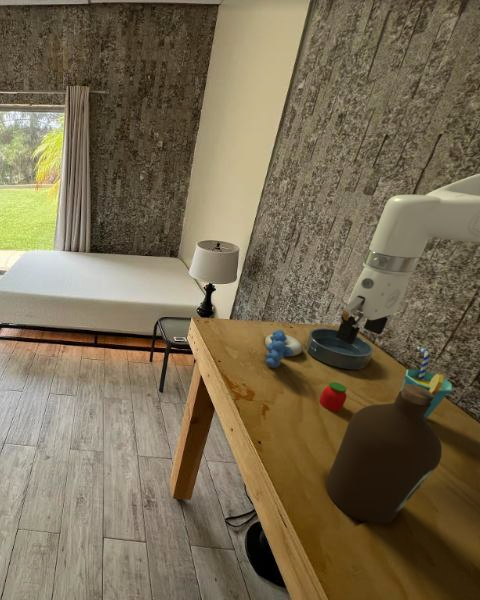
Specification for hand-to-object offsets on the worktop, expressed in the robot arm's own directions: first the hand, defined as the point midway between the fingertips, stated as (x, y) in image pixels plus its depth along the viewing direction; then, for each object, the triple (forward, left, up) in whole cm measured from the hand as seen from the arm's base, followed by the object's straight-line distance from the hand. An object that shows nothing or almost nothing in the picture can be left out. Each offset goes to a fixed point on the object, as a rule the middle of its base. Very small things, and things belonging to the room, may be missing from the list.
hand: (358, 335), depth 69 cm
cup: (-14, +8, -20) cm, 26 cm away
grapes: (0, -16, -20) cm, 26 cm away
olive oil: (+19, +18, -20) cm, 33 cm away
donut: (-10, -22, -20) cm, 32 cm away
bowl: (-22, -14, -20) cm, 33 cm away
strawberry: (0, 0, -20) cm, 20 cm away
